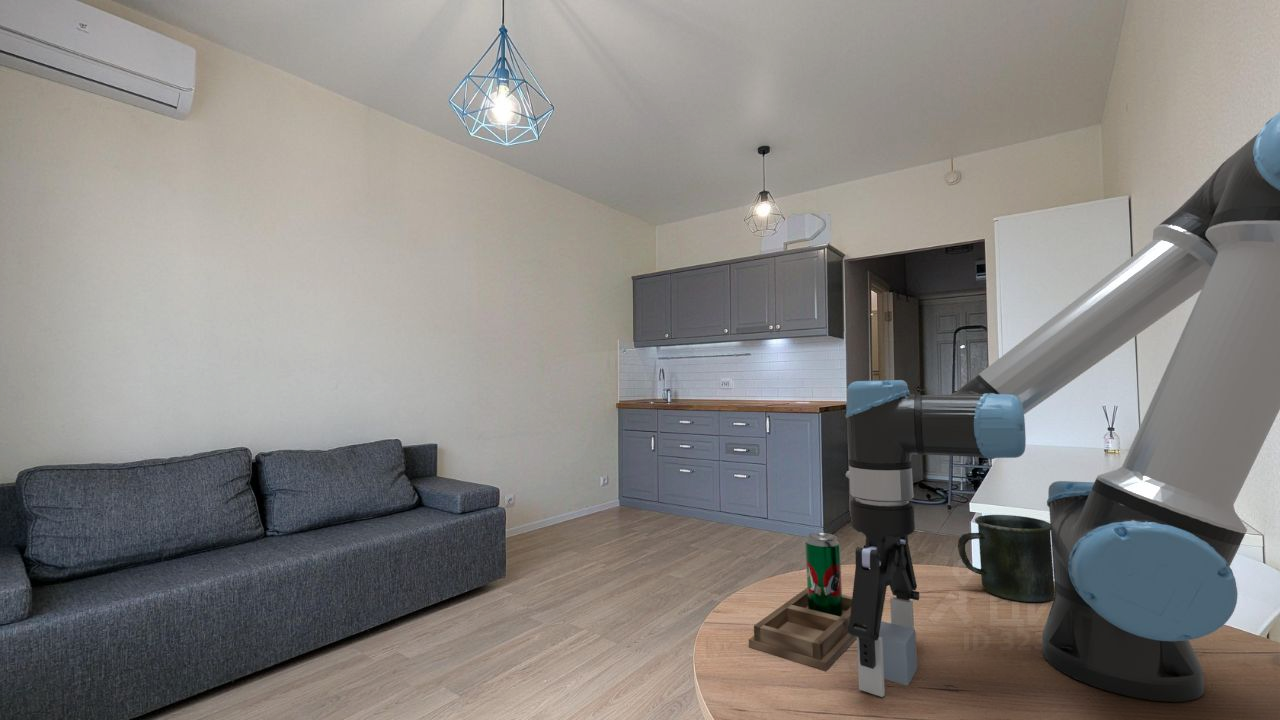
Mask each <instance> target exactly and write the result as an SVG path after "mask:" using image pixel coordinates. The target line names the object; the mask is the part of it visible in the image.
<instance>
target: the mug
mask: <svg viewBox="0 0 1280 720" xmlns="http://www.w3.org/2000/svg"><path fill="white" fill-rule="evenodd" d="M974 522H975V523H976V524H977V529H978V532H969V533H964V534H961V536H960V537H959V538H958V542H957V549H958V554H959V557H960V559H961V561H962V563H963V565H965V566H966V568H967V569H968V570H970V571H971V572H973V573H974V574H978V575H980V576H981V585H982V587H983V588H984V590H985V591H986V592H988V593H989V594H992V595H993V596H997V597H999V598H1004V599H1008V600H1013V601H1019V602H1025V603H1026V602H1027V603H1028V602H1029V603H1040V602H1041V603H1042V602H1048V601H1051V600H1052V599H1054V597H1055V583H1054V570H1053V555H1052V540H1051V525H1050V522H1048V521H1045V520H1042V519H1039V518H1034V517H1028V516H1021V515H1012V514H985V515H980V516H977V517H975V519H974ZM970 540H971V541H972V540H978V543H979V544H978V545H979V555H980V556H979V558H980V562H979V563H980V568H978V567H975V566H974V565H973V564H972V563H971V561H970V560H969V558H968V556H967V552H966V544H967V543H968V542H969V541H970Z"/></svg>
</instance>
